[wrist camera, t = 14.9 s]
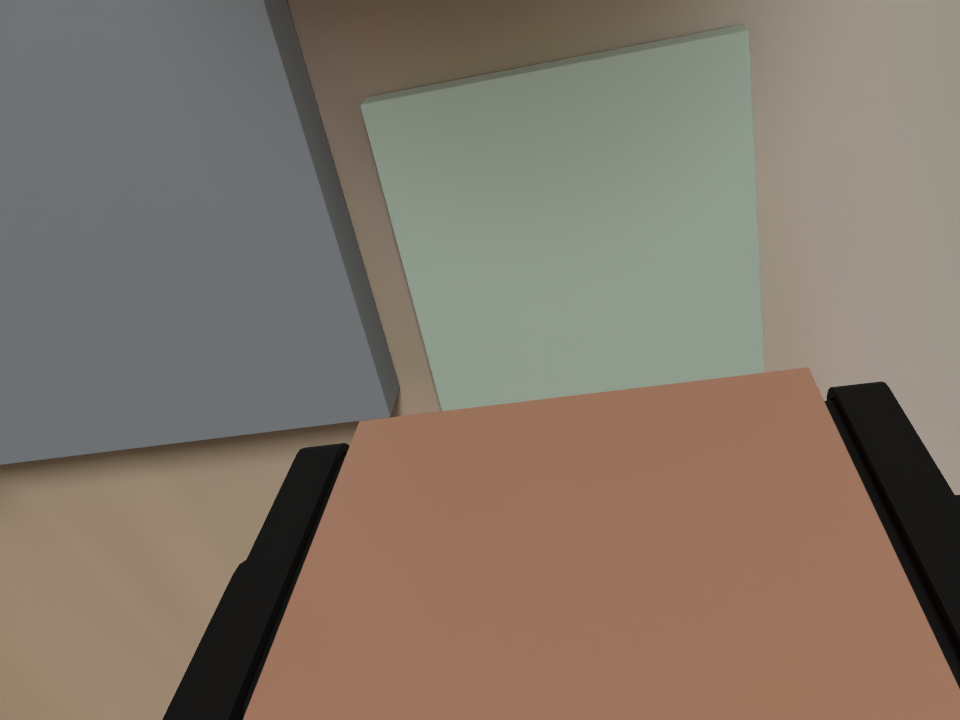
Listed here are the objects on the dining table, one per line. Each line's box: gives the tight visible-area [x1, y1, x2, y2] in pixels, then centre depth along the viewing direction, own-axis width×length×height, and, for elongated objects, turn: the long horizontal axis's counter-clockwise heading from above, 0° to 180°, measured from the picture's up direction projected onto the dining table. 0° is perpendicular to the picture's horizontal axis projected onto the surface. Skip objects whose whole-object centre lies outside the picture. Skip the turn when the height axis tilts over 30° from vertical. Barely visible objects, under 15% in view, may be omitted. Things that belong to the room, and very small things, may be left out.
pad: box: [360, 25, 765, 411], centre depth 17 cm, size 7×7×1 cm
